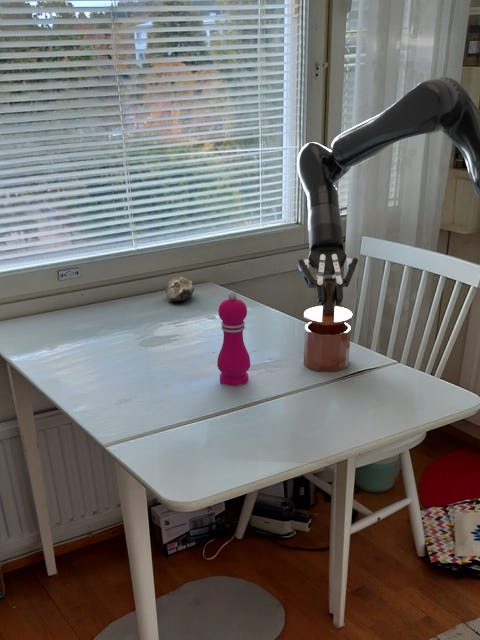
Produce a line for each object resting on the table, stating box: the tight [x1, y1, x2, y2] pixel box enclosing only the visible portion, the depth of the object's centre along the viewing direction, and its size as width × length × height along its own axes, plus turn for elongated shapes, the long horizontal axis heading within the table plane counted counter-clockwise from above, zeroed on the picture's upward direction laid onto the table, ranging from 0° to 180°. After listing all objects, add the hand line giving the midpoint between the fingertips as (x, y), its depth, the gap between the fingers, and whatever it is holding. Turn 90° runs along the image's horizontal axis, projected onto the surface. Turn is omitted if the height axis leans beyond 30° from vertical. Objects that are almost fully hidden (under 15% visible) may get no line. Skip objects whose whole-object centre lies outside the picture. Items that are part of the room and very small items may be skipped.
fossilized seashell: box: [164, 276, 195, 302], centre depth 218 cm, size 8×7×10 cm
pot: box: [303, 321, 352, 373], centre depth 178 cm, size 10×10×8 cm
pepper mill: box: [216, 290, 251, 387], centre depth 167 cm, size 7×7×20 cm
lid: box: [303, 277, 354, 325], centre depth 172 cm, size 11×11×9 cm
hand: (330, 303), depth 170 cm, fingers closed on lid, 3 cm apart
